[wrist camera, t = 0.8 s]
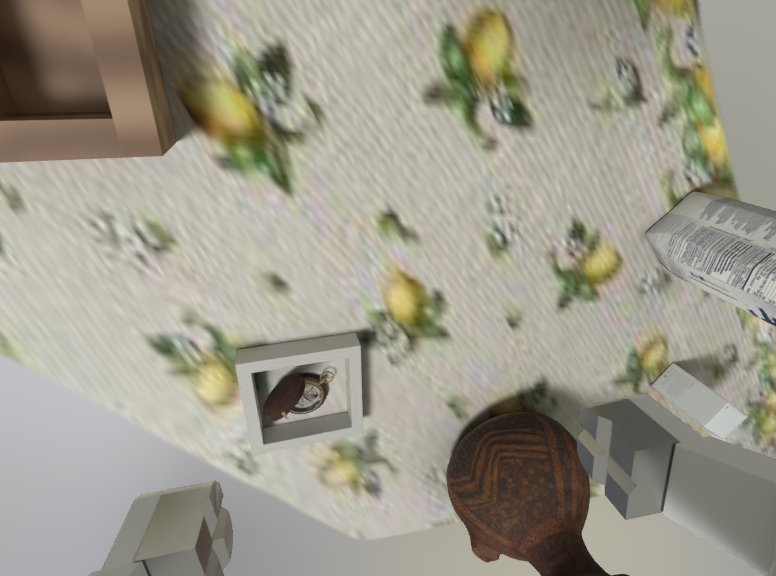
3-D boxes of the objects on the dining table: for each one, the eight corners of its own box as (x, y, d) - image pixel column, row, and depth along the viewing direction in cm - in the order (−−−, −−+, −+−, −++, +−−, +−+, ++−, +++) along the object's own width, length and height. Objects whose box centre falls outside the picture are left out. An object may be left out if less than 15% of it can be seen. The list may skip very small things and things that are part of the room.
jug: (442, 401, 65) (567, 623, 39) (564, 385, 71) (742, 569, 45) (424, 499, 74) (515, 730, 48) (533, 479, 80) (665, 674, 54)
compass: (301, 417, 59) (307, 459, 52) (259, 386, 55) (260, 428, 48) (346, 381, 58) (357, 419, 52) (307, 348, 54) (314, 384, 48)
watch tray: (236, 349, 51) (235, 364, 49) (355, 332, 55) (360, 345, 52) (252, 438, 58) (252, 455, 55) (358, 417, 61) (363, 433, 59)
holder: (-85, -60, 30) (-168, -91, 24) (136, -46, 33) (111, -70, 28) (-3, 148, 37) (-53, 164, 31) (176, 142, 40) (162, 155, 34)
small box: (649, 384, 77) (702, 427, 68) (672, 361, 75) (729, 401, 66) (670, 398, 80) (723, 441, 72) (692, 376, 79) (749, 416, 70)
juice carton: (634, 234, 60) (872, 341, 37) (695, 179, 59) (982, 255, 35) (656, 272, 64) (880, 388, 41) (713, 222, 63) (978, 313, 40)
